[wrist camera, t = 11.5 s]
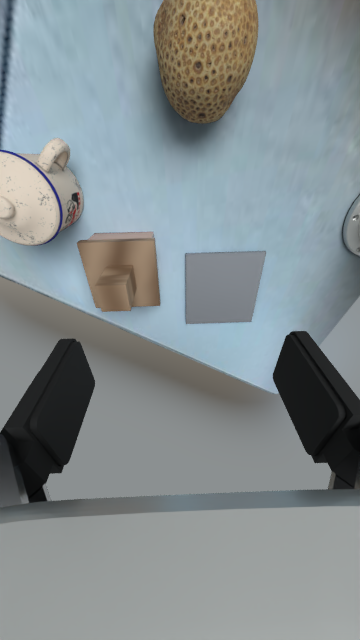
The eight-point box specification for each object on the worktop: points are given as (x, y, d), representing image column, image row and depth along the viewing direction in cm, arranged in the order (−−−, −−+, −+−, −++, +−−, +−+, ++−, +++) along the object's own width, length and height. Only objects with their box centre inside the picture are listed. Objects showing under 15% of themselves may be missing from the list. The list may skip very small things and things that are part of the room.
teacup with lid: (66, 240, 34) (27, 271, 25) (4, 194, 30) (-70, 209, 21) (110, 174, 30) (82, 181, 20) (43, 109, 26) (-31, 80, 16)
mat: (264, 251, 36) (266, 252, 36) (250, 319, 45) (251, 321, 44) (185, 253, 36) (186, 254, 36) (186, 321, 44) (186, 323, 44)
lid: (154, 237, 30) (150, 257, 24) (160, 301, 36) (158, 329, 30) (79, 240, 30) (57, 260, 24) (98, 303, 35) (83, 332, 30)
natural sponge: (236, 124, 27) (264, 109, 19) (163, 132, 27) (160, 120, 19) (242, 1, 22) (285, -93, 14) (152, 11, 22) (141, -75, 14)
